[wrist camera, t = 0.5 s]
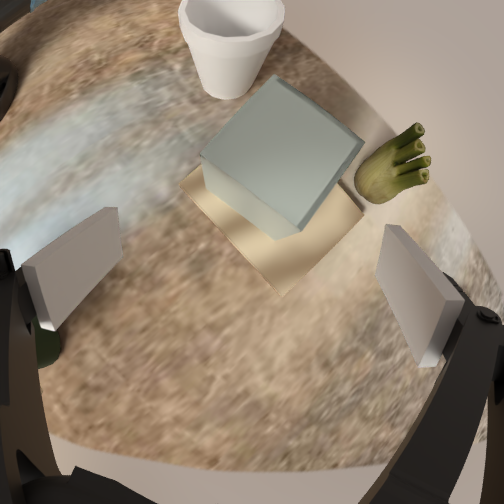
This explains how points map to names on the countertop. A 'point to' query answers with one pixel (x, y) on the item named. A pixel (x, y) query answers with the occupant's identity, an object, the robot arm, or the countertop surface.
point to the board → (283, 250)
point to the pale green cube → (278, 159)
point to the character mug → (45, 345)
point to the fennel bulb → (393, 167)
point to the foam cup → (230, 40)
